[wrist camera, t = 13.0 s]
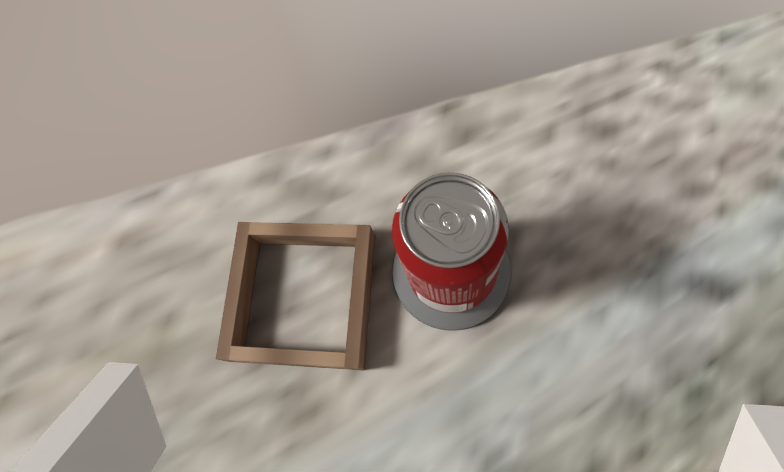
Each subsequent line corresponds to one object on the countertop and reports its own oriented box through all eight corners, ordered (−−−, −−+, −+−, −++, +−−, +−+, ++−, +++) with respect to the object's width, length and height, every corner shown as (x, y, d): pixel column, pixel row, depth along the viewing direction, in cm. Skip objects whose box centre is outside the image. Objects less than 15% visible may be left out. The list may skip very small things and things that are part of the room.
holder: (375, 235, 42) (370, 225, 40) (364, 370, 39) (358, 368, 37) (250, 231, 44) (238, 222, 41) (229, 361, 41) (215, 359, 38)
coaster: (510, 218, 41) (511, 216, 41) (510, 333, 39) (510, 332, 38) (397, 215, 43) (396, 213, 42) (389, 327, 40) (388, 326, 39)
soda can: (471, 331, 38) (477, 300, 27) (392, 288, 40) (365, 243, 29) (511, 252, 40) (532, 192, 29) (433, 214, 42) (423, 144, 30)
